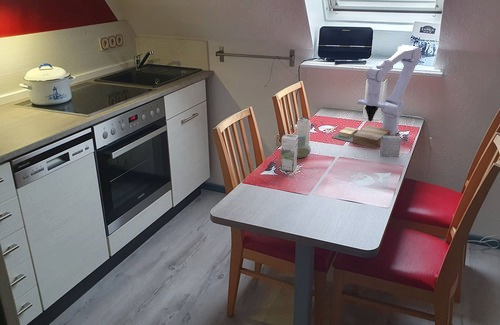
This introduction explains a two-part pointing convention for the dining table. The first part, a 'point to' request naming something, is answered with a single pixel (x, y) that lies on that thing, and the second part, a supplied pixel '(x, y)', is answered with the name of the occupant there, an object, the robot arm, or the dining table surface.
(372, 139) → the brown shallow box
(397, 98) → the robot arm
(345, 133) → the tile
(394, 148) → the medicine box
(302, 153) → the air freshener
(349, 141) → the mat
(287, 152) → the syrup box
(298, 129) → the can
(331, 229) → the dining table surface
